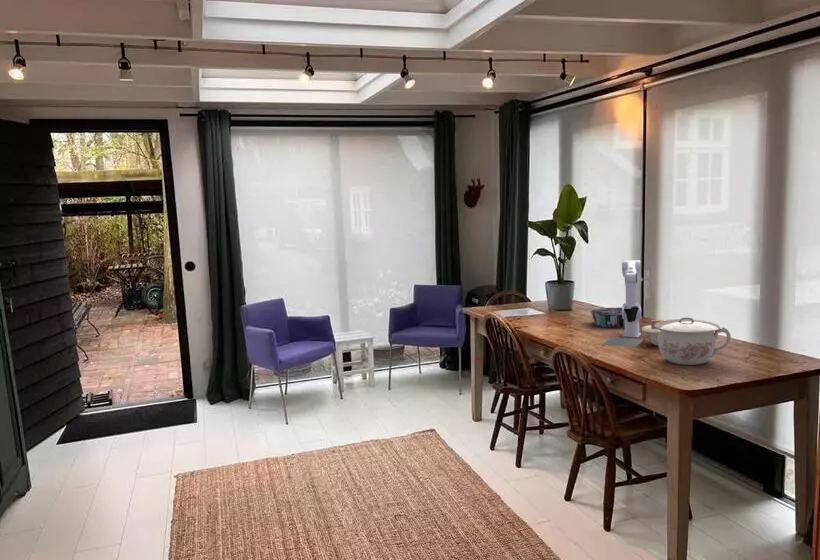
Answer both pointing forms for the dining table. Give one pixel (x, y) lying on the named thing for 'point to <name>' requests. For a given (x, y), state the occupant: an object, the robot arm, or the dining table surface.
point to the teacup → (652, 338)
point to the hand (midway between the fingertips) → (631, 321)
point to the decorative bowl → (608, 317)
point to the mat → (623, 342)
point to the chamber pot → (689, 340)
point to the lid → (652, 327)
